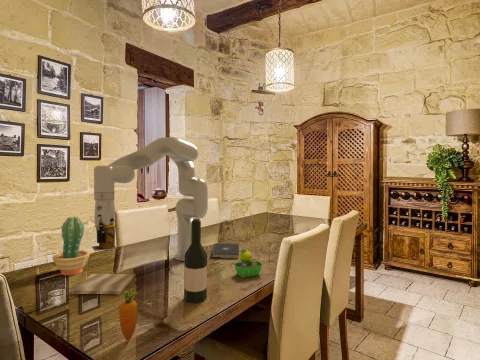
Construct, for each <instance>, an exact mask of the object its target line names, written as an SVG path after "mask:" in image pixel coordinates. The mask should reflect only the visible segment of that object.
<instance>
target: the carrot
mask: <svg viewBox="0 0 480 360" xmlns="http://www.w3.org/2000/svg"><path fill="white" fill-rule="evenodd" d="M133 289H134V288H133V287H131V288H130V289H129V291H128V290H123V291H122V295H123V296H124V300H123V301H122V302H121V303H119V305H118V316H119V317H118V318H119V323H120V329H121V330H120V331H121V333H122V335H123V337H124V338H125V340H126V341H128V342H130V340H131V339H132V338H133V336H134V333H135V330H136V326H137V320H138V304H137V301H135V299H134V296H136V295H137V294H138V292H137V291H135V292H133Z"/></svg>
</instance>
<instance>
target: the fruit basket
mask: <svg viewBox="0 0 480 360" xmlns="http://www.w3.org/2000/svg"><path fill="white" fill-rule="evenodd" d="M252 258H253V255H252V253H251V252H250V251H249V250H248V249H246V248H242V249H241V252H240V256H239V260H240V261H238V262H234V263H233V265H234V267H235V271H236V275H238V276H239V277H241V278H247V277H253V276H260V273H261V269H262V267H263V263H261V262H260V261H258V260H256V259H252Z"/></svg>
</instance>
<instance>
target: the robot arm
mask: <svg viewBox="0 0 480 360" xmlns="http://www.w3.org/2000/svg"><path fill="white" fill-rule="evenodd" d="M166 156H168V157H169V159H170V160H172V162H173V163H174V164H175V165H176V167H177V172H178V173H177V174H178V178H177V179H178V192H179V194H180V195H182V196H185V197H186V198H185V197H184V198H180V199H179V200H178V201H177V202H176V204H175V214H176V217H177V253H176V254H175V255H173V256H174V260H175V261H176V260H177V261H181V262H184V259H185V253H186V251H187V250H188V248H189V246H190V245H191V227H192V221H193V219H194V218H199V219H202V218H204V217H206V215H207V213H208V208H209V206H208V201H209V200H208V199H209V197H208V195H209V194H208V193H209V191H208V184H207V182H206V181H205V180H204V179H202V178H196V170H195V165H194V163H193V162H194V161H196V160H197V158H198V156H199V150H198V148H197V146H196V145H194V144H193V143H191V142H188V141H186V140H183V139H181V138H179V137H175V136H174V137H172V136H169V137H168V136H167V137H158V138H156V139H155V140H154V141H151V142H150V143H149V144H147V145H145V146H144V147H142V148H140V149H139V150H136V151H134V152H131V153H129V154H126V155H123V156H122V157H120V158H117V159H115V161H113V162H111V163H110V164H108V165H96V166H94V168H93V201H95V204H94V228H95V229H96V243H97V244H99V243H105V242H106V233H105V226H108V225H110V219H112V218H114V223H115V222H116V207H115V206H116V204H115V199H116V198H115V184H116V183H117V184H128V183H130V182H133V180H134V179H135V176H136V172H135V170H141V169H146V168H148V167H151V166H152V165H154V164H155V163H157V162H159V161H160V160H161V159H163V158H164V157H166ZM187 197H188V198H187ZM189 197H192V198H189ZM100 224H104V225H100ZM102 227H103V229H102Z"/></svg>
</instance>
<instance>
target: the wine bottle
mask: <svg viewBox="0 0 480 360" xmlns="http://www.w3.org/2000/svg"><path fill="white" fill-rule="evenodd" d="M201 225H202V221H201V218H194V219H193V221H192V227H191V245H190V246H189V248H188V250H187V251H186V253H185V259H184V261H183V262H184V263H183V264H184V266H183V267H184V269H183V270H184V271H183V272H184V273H183V274H184V277H183V279H184V281H183V283H184V285H183V286H184V287H183V288H184V289H183V291H184V294H183V299H184V300H185V302H186V303H190V304H199V303H204V302H205V300H207V297H208V295H207V294H208V293H207V292H208V288H207V287H208V252H207V251H206V250H205V248H204V247H203V245H202V243H201V241H202V239H201V236H202V234H201V233H202V226H201Z"/></svg>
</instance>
